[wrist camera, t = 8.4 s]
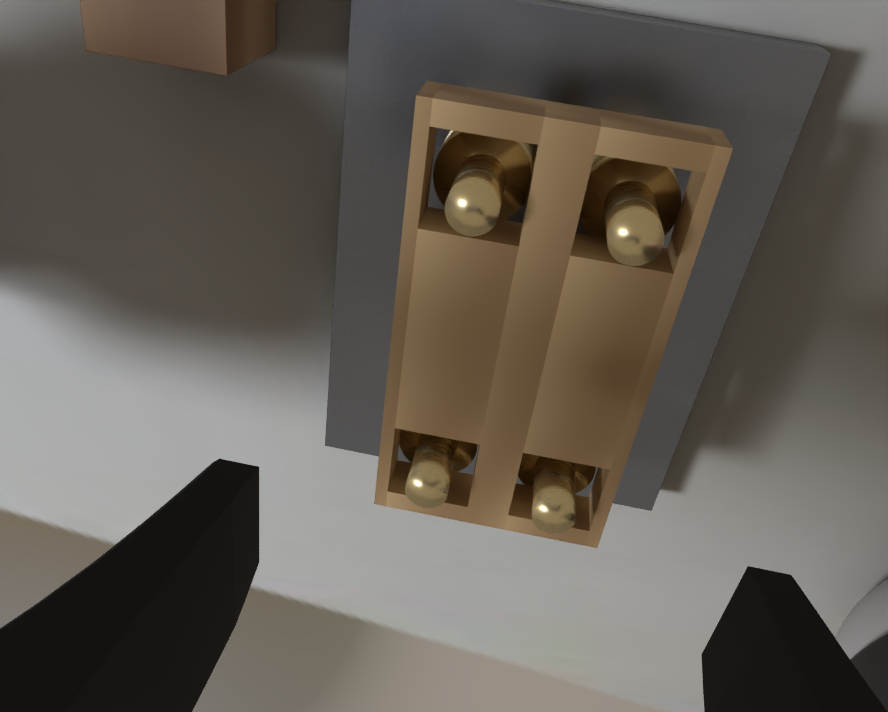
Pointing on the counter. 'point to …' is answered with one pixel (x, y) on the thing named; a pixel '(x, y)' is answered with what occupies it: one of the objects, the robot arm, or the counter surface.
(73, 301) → the counter surface
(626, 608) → the counter surface
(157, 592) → the robot arm
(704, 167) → the wooden frame
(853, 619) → the dark grey tall dome
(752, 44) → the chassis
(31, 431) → the counter surface
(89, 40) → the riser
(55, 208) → the counter surface
